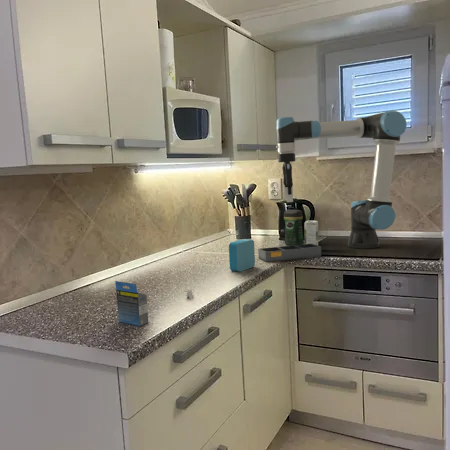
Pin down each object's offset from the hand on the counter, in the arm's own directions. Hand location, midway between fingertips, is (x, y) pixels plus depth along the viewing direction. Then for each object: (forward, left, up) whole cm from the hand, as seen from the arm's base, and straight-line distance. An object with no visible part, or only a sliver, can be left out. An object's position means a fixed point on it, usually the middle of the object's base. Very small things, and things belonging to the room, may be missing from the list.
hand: (288, 200), depth 206 cm
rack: (-1, -2, -26) cm, 27 cm away
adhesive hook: (+56, +43, -27) cm, 76 cm away
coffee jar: (-16, -32, -27) cm, 45 cm away
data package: (+26, +10, -27) cm, 39 cm away
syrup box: (-17, -13, -27) cm, 34 cm away
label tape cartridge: (+75, +60, -27) cm, 100 cm away
